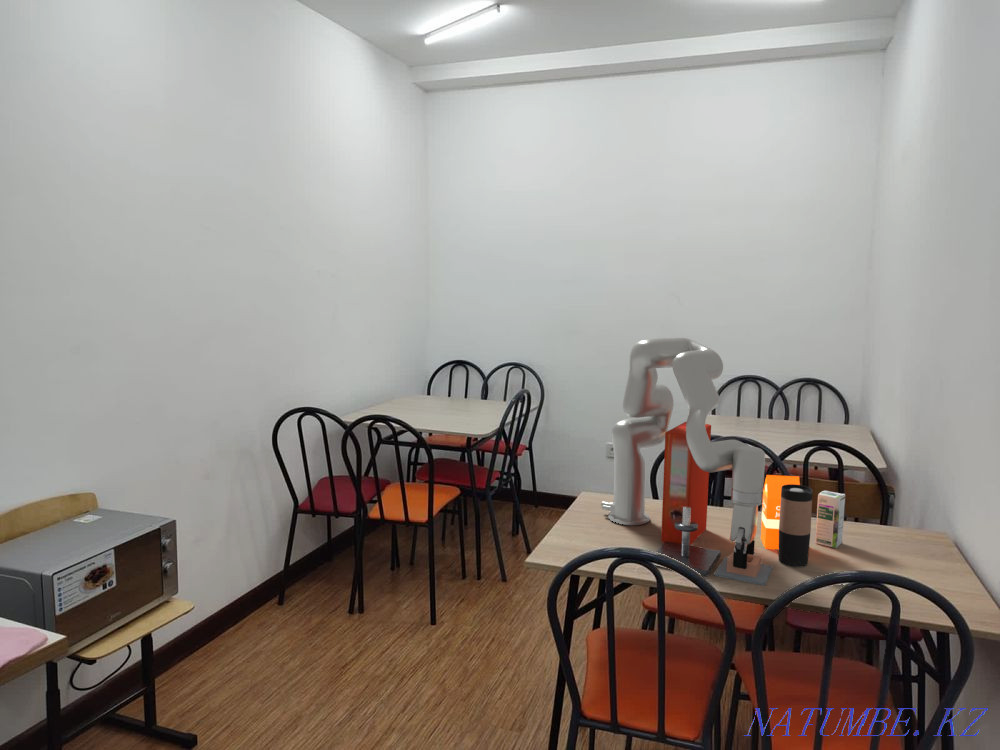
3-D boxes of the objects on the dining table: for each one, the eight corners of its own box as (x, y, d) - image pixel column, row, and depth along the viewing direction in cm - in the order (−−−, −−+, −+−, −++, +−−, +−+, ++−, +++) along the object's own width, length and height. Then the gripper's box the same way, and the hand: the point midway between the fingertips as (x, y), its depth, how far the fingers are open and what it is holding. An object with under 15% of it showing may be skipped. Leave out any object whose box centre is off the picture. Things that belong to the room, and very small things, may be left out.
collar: (726, 571, 178) (727, 560, 178) (732, 562, 184) (733, 551, 184) (755, 577, 175) (756, 565, 174) (760, 567, 181) (761, 556, 180)
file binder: (707, 529, 210) (711, 424, 205) (689, 548, 195) (693, 435, 191) (680, 524, 214) (684, 421, 210) (661, 542, 200) (664, 432, 195)
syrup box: (814, 543, 198) (817, 493, 197) (821, 538, 203) (824, 489, 201) (835, 548, 195) (839, 498, 193) (842, 543, 199) (846, 493, 197)
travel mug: (773, 556, 190) (776, 484, 187) (801, 556, 189) (805, 484, 187) (783, 567, 182) (787, 492, 179) (813, 567, 182) (817, 492, 179)
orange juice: (798, 551, 193) (802, 480, 190) (764, 548, 195) (768, 478, 192) (792, 541, 201) (796, 472, 198) (760, 538, 202) (763, 471, 200)
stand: (648, 564, 184) (650, 511, 182) (665, 546, 197) (666, 495, 195) (706, 576, 177) (709, 520, 175) (720, 556, 190) (722, 504, 188)
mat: (714, 575, 177) (714, 573, 177) (724, 559, 188) (724, 557, 187) (764, 585, 171) (764, 583, 171) (772, 568, 182) (772, 565, 182)
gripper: (738, 484, 186) (735, 546, 189) (724, 503, 171) (720, 570, 174) (768, 489, 182) (764, 552, 185) (756, 508, 168) (752, 576, 170)
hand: (743, 560), depth 179 cm, fingers open, 9 cm apart
